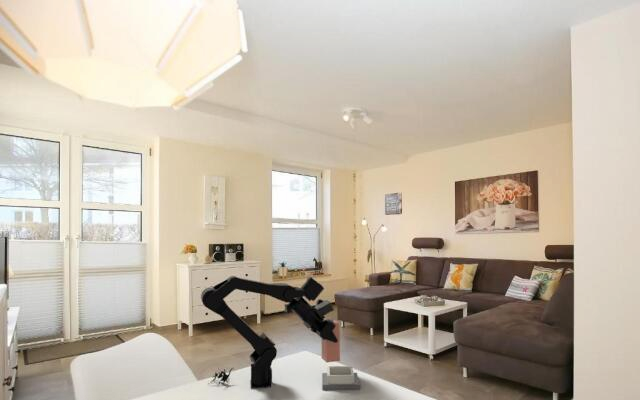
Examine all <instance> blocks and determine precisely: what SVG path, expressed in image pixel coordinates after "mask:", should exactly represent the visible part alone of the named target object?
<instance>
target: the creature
mask: <svg viewBox="0 0 640 400" xmlns="http://www.w3.org/2000/svg"><path fill="white" fill-rule="evenodd" d="M217 368H218V370H220V369H219V367H217ZM232 370H234V367H232V368H231V369H230V370H229V372H228V374H226V369H223V370H222V371H220V372H214V375H213V376H212V380H211V381H210V382H208V385H209V384H212V383H214V381H215V380H216V379H220V381H219V382H218V383H217V382H215V384H217V385H218V386H219V385H220V383H221V382H223V383H225V382H227V381H228V379H229V377H230V375H231V372H232Z"/></svg>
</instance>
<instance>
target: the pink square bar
mask: <svg viewBox="0 0 640 400" xmlns="http://www.w3.org/2000/svg"><path fill="white" fill-rule="evenodd" d="M326 320H330V321H332V322H333V323H334V324H335V325H336V326H335V328H334V329H333V333H334V334H335V336H336V338H337V340H338V342H337V343H335V342H332V341H329V340H326V339H325V340H323V339H322V338H321V359H322V360H323V361H324V362H325V363H333V362H334V363H335V362H340V361H341V348H340V347H341V346H340V345H341V344H340V342H341V341H340V334H341V333H340V322H339V321H336V320H334V318H327V319H326Z"/></svg>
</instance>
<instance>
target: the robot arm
mask: <svg viewBox="0 0 640 400" xmlns="http://www.w3.org/2000/svg"><path fill="white" fill-rule="evenodd" d="M235 290H240V291H244V292H249V293H254V294H260V295H263V296H264V295H265V296H269V297H272V298H274V299H276V300H279V301H281V302H284V312H285V313H287V314H290V312H293V313H294V314H295V315H296V316H297V317H298V318H299V319H300V320H301V321H302V322H303V326H305V327H306V329H308V330H310V331H311V332H312V333H315V334H316V335H317V336H318V337H319V338H320V339H321V340H322V339H323V340H325V339H326V340H329V341H332V342H335V343H337V342H338V340H337V338H336V336H335V334H334V333H333V329H334V328H335V326H336V325H335V324H334V323H333V322H332V321H330V320H327V319H325V318H326V317H325V316H326V315H328V314H329V313H330V312H334V311H335V309H334V306H333V305H332V302H331V301H330V300H328V299H324V300H323V299H321V298H319V299H317V298H318V297H319V296H320V295H321V294H322V292H323V291H324V290H325V287H324V286H323V285H322V284H321V283H320V282H318V281H316V280H315V279H314V278H313V277H312V276H309V277H308V278H307V279H306V281H305V282H304V283H303V284H302V285H301V286H300V287H298V286H292V285H290V284H288V283H287V282H285V283H283V282H282V283H281V282H280V283H279V282H277V283H276V282H275V283H267V282H263V281H257V280H252V279H248V278H242V277H237V276H236V275H231V276H229V277H228V278H226V279H225V280H223V281H221V282H219V283H217V284H216V285H214V286H213V287H211V286H210V287H206V288H205V289H203V290H202V292H201V294H200V300H201V302H202V305H203V306H204V307H205V308H207V309H208V310H210V311H211V312H213V313H214V314H217V315H219V316H220V317H222V319H223V320H225V322H227V323H228V324H229V325H230V326H231V327H232V328H233V329H234V330H235V331H236V332H237V333H238V334H240V336H241V337H242V338H244V339H245V341H247V342H248V343H249V345H251V347H252V348H253V351H252V353H251V354H250V355H249V359H250V361H251V364H250V380H249V382H250V388H251V389H258V388H267V387H270V388H271V387H272V383H273V369H272V363H273V361H274V360H275V359H276V357H277V353H278V350H277V347H275V346H276V344H275V342H274V340H272V339H271V338H270V337H268V336H267V335H266V333H264V332H262V333H261V334H259V333H258V332H256V331H255V330H254V329H253V328H252V327H251V326H250V325H249V324H248V323H247V322H246V321H244V320H243V318H241V317H240V316H239V315H238V314H237V313H236V312H235V311H234V310H233V309H232V308H231V307H230V306H228V304H227V302H226V301H225V299H226V298H227V297H228V296H229V295H230V294H232V292H234V291H235ZM316 299H317V300H316ZM310 301H312V302H314V301H316V305H315V306H313V305H311V304H310V303H309V302H310Z"/></svg>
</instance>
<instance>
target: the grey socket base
mask: <svg viewBox="0 0 640 400" xmlns="http://www.w3.org/2000/svg"><path fill="white" fill-rule="evenodd" d="M321 375H322V376H321V377H322V378H321V379H322V380H321V382H322V383H321V385H322V386H321V387H322V388H321V389H322V391H327V390H328V391H329V390H330V391H332V390H333V391H334V390H335V391H337V390H339V391H340V390H341V391H343V390H345V391H346V390H347V391H348V390H349V391H350V390H360V389H361V384H360V380H359V376H358V373H357V372H354V369H353V366H350V365H336V366H335V365H334V366H333V365H331V366H327V367H326V372H322V373H321Z"/></svg>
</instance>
